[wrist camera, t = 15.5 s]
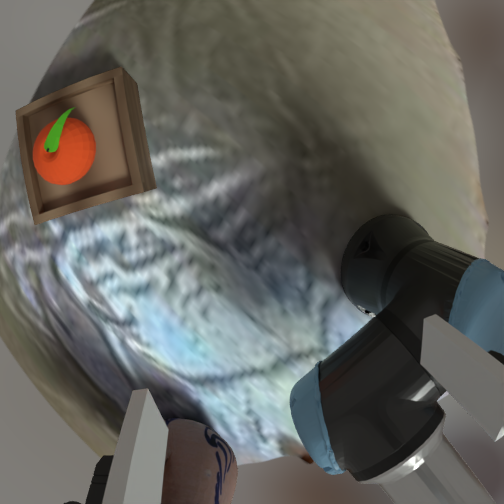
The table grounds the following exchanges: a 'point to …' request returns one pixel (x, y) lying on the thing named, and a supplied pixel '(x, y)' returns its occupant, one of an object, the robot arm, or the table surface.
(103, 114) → the walnut tray
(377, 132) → the table surface
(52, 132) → the clementine
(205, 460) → the ceramic pitcher
